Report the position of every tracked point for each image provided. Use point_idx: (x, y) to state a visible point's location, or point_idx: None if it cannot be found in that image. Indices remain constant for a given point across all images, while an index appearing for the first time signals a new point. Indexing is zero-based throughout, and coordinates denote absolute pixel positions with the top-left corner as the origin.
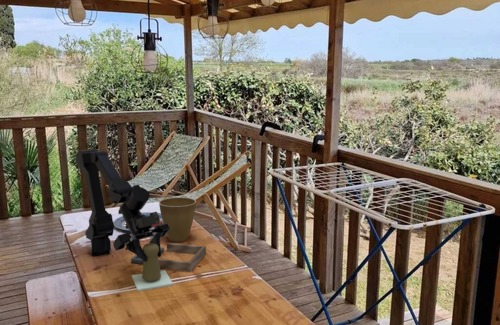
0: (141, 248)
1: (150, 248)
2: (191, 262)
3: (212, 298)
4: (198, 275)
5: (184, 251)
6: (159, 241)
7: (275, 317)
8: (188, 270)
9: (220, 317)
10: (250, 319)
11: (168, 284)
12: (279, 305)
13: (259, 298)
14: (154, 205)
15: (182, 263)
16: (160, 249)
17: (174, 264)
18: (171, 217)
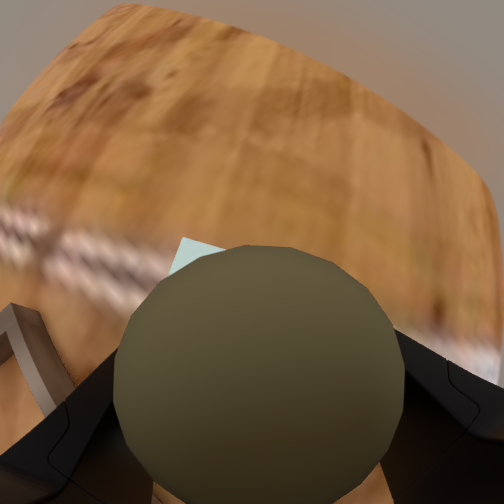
0: (439, 390)
1: (334, 268)
2: (3, 309)
3: (153, 81)
4: (43, 252)
5: None
6: (29, 441)
7: (138, 9)
8: (39, 321)
9: (215, 28)
10: (174, 12)
11: (205, 244)
12: (94, 29)
13: (86, 52)
14: None
15: (30, 348)
16: (103, 362)
17: (60, 396)
18: None
